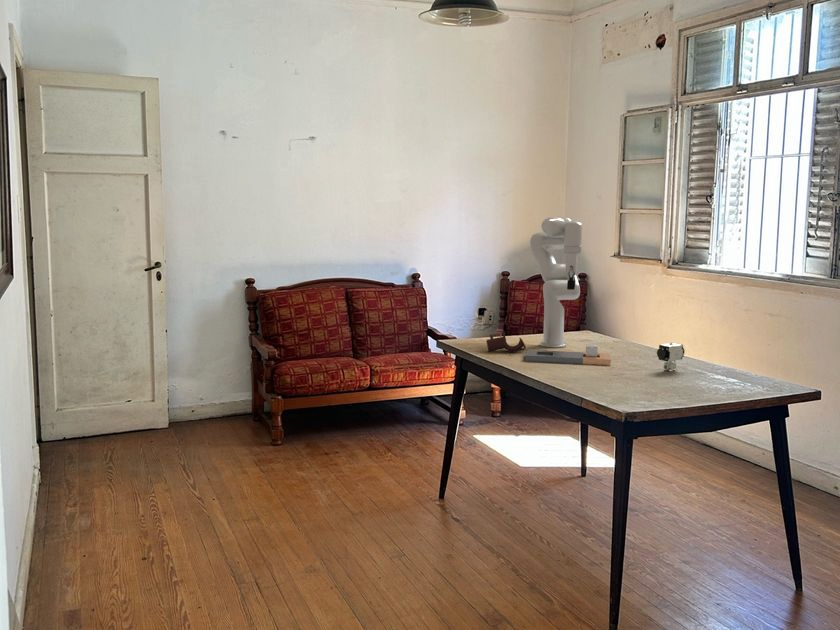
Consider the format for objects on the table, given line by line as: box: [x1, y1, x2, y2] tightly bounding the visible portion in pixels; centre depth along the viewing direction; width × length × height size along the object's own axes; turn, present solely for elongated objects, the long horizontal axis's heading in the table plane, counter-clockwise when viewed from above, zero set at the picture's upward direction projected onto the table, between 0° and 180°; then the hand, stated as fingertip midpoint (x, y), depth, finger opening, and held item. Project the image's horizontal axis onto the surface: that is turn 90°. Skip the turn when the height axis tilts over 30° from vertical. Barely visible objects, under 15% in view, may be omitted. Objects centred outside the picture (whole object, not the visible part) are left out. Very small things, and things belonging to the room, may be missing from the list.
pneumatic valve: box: [656, 341, 685, 371], centre depth 331 cm, size 6×12×12 cm, turn 122°
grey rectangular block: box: [585, 344, 599, 357], centre depth 350 cm, size 5×5×7 cm
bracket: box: [485, 330, 526, 353], centre depth 370 cm, size 6×17×10 cm, turn 85°
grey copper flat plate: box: [524, 349, 612, 366], centre depth 352 cm, size 14×36×2 cm, turn 78°
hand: (571, 288), depth 360 cm, fingers open, 9 cm apart
